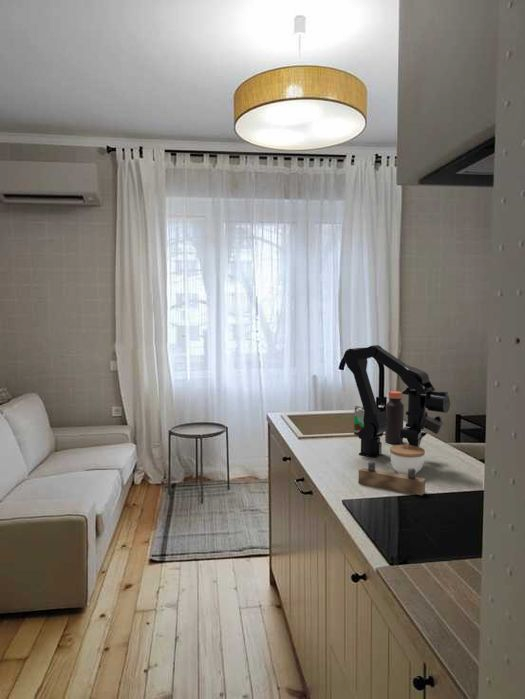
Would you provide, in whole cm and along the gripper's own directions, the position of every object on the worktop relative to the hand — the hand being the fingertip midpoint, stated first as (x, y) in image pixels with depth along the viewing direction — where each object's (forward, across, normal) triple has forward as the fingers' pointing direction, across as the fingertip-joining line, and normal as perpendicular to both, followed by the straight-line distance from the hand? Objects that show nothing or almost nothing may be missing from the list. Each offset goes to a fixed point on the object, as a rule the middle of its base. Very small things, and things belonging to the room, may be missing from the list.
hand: (415, 453), depth 170 cm
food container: (+4, +33, +32) cm, 46 cm away
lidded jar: (+4, -10, 0) cm, 11 cm away
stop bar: (+4, -26, 0) cm, 26 cm away
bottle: (+4, +24, +15) cm, 29 cm away
